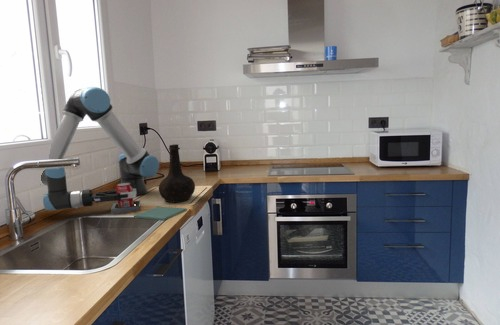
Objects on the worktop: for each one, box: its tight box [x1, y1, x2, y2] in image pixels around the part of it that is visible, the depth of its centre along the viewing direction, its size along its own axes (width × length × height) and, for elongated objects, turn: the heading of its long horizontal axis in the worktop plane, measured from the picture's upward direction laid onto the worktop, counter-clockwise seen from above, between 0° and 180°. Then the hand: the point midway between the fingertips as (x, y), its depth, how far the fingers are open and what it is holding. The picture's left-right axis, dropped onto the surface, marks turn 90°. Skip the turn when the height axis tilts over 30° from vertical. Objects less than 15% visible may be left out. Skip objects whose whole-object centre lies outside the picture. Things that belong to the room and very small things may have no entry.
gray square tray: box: [110, 200, 141, 215], centre depth 170 cm, size 12×12×2 cm
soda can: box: [115, 182, 134, 208], centre depth 169 cm, size 7×7×12 cm
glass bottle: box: [158, 143, 196, 203], centre depth 180 cm, size 18×18×28 cm
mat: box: [133, 205, 188, 221], centre depth 158 cm, size 16×16×1 cm
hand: (135, 192), depth 170 cm, fingers closed on soda can, 6 cm apart
